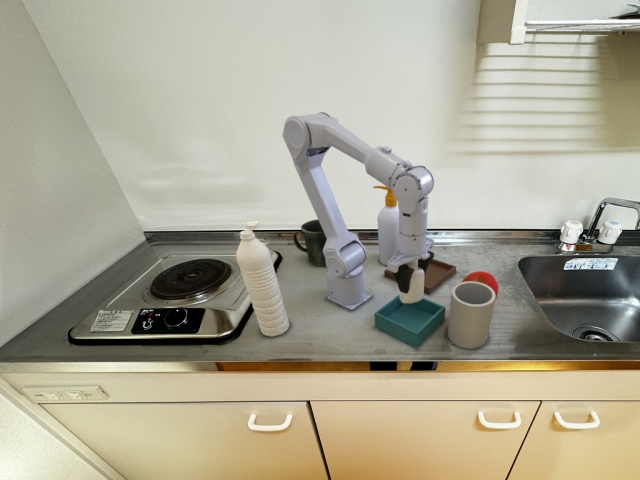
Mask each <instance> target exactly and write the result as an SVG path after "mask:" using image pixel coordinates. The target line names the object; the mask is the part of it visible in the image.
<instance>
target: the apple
mask: <svg viewBox="0 0 640 480" xmlns="http://www.w3.org/2000/svg"><path fill="white" fill-rule="evenodd" d="M466 281H474V282H480V283H483V284H485V285H488V286H489V287H491V288H492V289H493V290H494V292H495V295H496V298H495V301H497V297H498V294H499V284H498V282H497V280H496V278H495V276H494V275H492V274H491V273H489V272H486V271H481V270H480V271H474V272H471V273H469V274H467V275H465V277H464V278H463V279H462V281H461V283H462V282H466Z"/></svg>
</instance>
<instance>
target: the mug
mask: <svg viewBox="0 0 640 480" xmlns="http://www.w3.org/2000/svg"><path fill="white" fill-rule="evenodd" d="M300 229H301V230H299V231H295V232H294V234H293V236H292V239H293V242H294V245H295V246H296V248H297V249H298V250H299V251H300V252H301V253H302V252H303V253H305V254H307V258H308V262H309V263H310V264H311V265H312V266H315V267H327V266H326V260H325V256H324V253H323V249H324V246H325V243H326V241H327V238H326V235H325V233H324V231H323V229H322V227H321V224H320V222H319V220H318V219H313V220H309V221H306V222H304V223H303V224H301V226H300ZM297 236H303V238H304V243H305V247H304V246H302V245H301V244H300V242H299V240H298V237H297Z"/></svg>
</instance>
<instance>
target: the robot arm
mask: <svg viewBox="0 0 640 480" xmlns="http://www.w3.org/2000/svg"><path fill="white" fill-rule="evenodd" d="M282 138H283V140H284V143H285V144H286V148H287V150H288V153H289V154H290V157H291V158H292V162H293V165H294V168H295V170H296V173H297V175H298V177H299V180H300V181H301V184H302V186H303V188H304V191H305V193H306V195H307V197H308V200H309V202H310V204H311V207H312V209H313V211H314V213H315V215H316V217H317V220H319V222H320V224H321V227H322V229H323V231H324V233H325V235H326V238H327V241H326V243H325V246H324V249H323V253H324V256H325V260H326V266H325V267H326V268H327V270H328V271H327V273H326V284H327V288H328V295H327V300H329V301H331V302H334V303H335V304H337V305H339V306H341V307H343V308H345V309H347V310H350V311H353V310H356V309H357V308H358V307H359V306H361V305H363V304H364V303H365V302H366V301H368V300H370V298H372V295H371V294H369V293H367V292H365V287H364V275H363V268H364V263H365V262H366V260H367V258H368V252H367V249H366V247H365V246H364V244H363V243H362V242H361V241H360V239H359V236H358V235H357V234H355V233H354V232H351V231H349V230H348V227H347V225H346V222H345V220H344V218H343V215H342V213H341V210H340V208H339V206H338V203H337V200H336V198H335V196H334V194H333V191H332V188H331V186H330V184H329V182H328V179H327V176H326V174H325V172H324V170H323V166H322V164H323V160H324V157H325V156H326V154H327V153H328V152H329V150H330V149H331V147H332V148H333V149H336V150H338V151H340V152H341V153H343V154H345V155H347V156H348V157H350V158H352V159H354V160H355V161H357V162H359V163H361V164H363V165H364V169H365V172H366V174H367V175H368V176H369V177H372V178H373V179H374V180H376V181H378V182H379V183H381V184H382V185H383V186H387V187H388V188H390V189H391V190H393V193H394V196H395V198H396V199H397V206H398V209H399V249H398V250H397V252H396V253H395V255H394V256H393V257H392V259H391V260H390V261H388V265H387V269H388V270H389V271H391V272H392V273H393V275H394V277H395V279H396V281H397V282H396V281H395V282H396V284H397V288H398V290H399V291H401V292H403V293H405V294H407V293H408V292H409V288H410V280H411V277H412V274H413V272H414V270H415V269H412V268H410V267H408V265H407V263H409V262H412V261H415V260H418V267H420V268H422V270H423V271H424V277H425V274H426V271H427V268H428V266H429V264H430V262H431V260H432V259H435V253H434V252H433V251H430V249H433V248H434V246H435V239H434V238H430V237H427V233H428V232H427V231H428V214H429V213H428V212H429V196H428V195H430V194H431V192H432V191H433V189H434V186H435V179H434V176H433V174H432V172H431V171H430V170H429V169H428V168H427V167H426V166H425V165H422V164H419V165H413V162H412V161H410V160H405V159H403V158H402V157H400V156H398V155H396V154H395V153H393V152H392V151H393V149H392V148H391V147H389V146H388V145H385V146H382V145H379V146H376V147H372V146H370V145H369V144H368V143H367V142H365V141H364V140H363V139H361V138H360V137H359V136H357V135H356V134H354V132H352V131H351V130H349V129H348V128H346V127H345V126H344V125H342V124H341V123H340V121H339V119H338V118H337V117H335V116H332V115H330V114H329V113H328V112H325V111H319V112H317V113H311V114H303V115H290V116H288V117H287V118H286V119H285V122H284V126H283V130H282Z"/></svg>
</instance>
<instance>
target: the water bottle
mask: <svg viewBox="0 0 640 480" xmlns="http://www.w3.org/2000/svg"><path fill="white" fill-rule="evenodd" d="M245 226H246V229H245V230H242V231H240V232H239V234H240V237H239V238H240V242H239V244H238V247H237V250H236V252H235V260H236V262H237V265H238V267H239V270H240V273H241V276H242V278H243V283H244V284H245V287H246V291H247V294H248V297H249V300H250V303H251V304H252V308H253V310H254V314H255V317H256V321H257V323H258V327H259V329H260V331H261V334H262V335H263V336H265V337H277V336H280V335H283V334H284V333H286V332H287V331H288V330H289V328H290V322H289V317H288V315H287V311H286V310H287V309H286V306H285V304H284V299H283V297H282V292H281V290H280V284H279V281H278V278H277V274H276V271H275V267H274V264H273V263H274V262H273V260H272V255H271V251H270V250H269V248H268V246H267V245H265V244H264V243H263V242H261V241H260V240H259V239H258V238H257V237H255V236H256V234H255V233H254V231H253V230H258V229H260V226H261V225H260V222H259V221H257V220H251V221H247V222H246V223H245Z"/></svg>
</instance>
